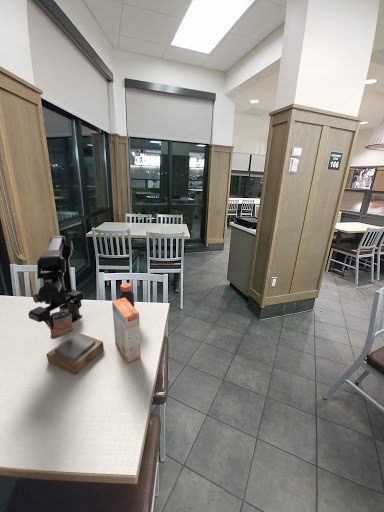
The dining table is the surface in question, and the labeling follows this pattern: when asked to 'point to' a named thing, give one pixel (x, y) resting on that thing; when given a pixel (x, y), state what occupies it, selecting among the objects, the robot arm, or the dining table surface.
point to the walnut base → (75, 352)
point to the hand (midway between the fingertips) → (61, 323)
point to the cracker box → (126, 329)
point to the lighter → (61, 324)
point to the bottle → (127, 293)
